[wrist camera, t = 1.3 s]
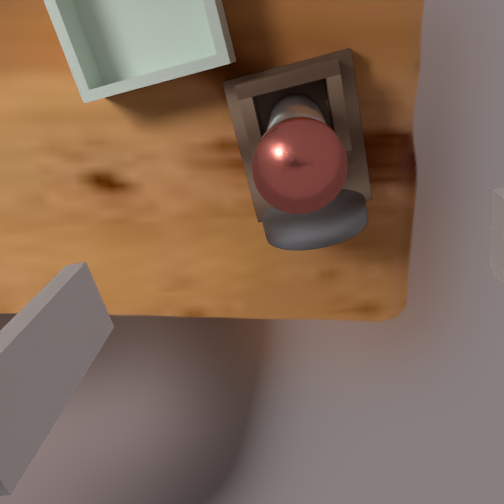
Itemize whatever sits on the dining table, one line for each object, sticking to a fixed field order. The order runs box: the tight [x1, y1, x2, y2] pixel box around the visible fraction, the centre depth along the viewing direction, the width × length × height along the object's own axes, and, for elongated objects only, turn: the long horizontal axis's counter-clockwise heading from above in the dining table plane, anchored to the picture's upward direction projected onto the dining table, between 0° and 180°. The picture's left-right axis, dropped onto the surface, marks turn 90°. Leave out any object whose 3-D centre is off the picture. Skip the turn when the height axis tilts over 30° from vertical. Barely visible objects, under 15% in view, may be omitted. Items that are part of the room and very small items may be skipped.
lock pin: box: [252, 92, 348, 214], centre depth 28 cm, size 5×5×15 cm
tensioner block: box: [222, 48, 372, 250], centre depth 33 cm, size 13×10×10 cm
